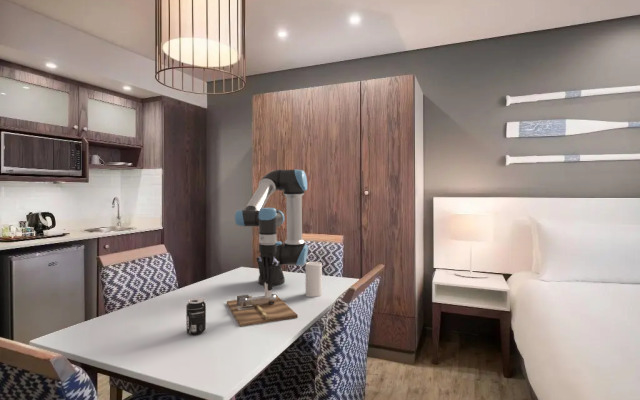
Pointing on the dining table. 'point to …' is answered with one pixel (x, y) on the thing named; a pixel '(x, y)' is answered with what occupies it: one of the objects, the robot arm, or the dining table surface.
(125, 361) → the dining table surface
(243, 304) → the bar
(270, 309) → the door board
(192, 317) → the beverage can
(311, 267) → the cup
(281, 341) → the dining table surface
